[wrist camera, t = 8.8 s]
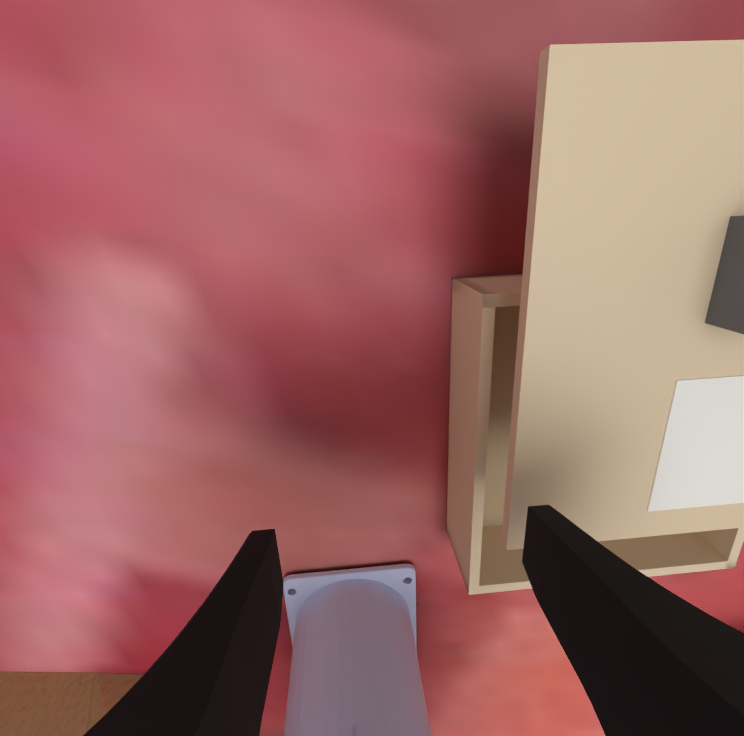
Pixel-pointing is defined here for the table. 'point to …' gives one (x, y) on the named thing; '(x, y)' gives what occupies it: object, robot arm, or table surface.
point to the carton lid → (632, 293)
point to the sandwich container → (58, 701)
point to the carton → (491, 445)
